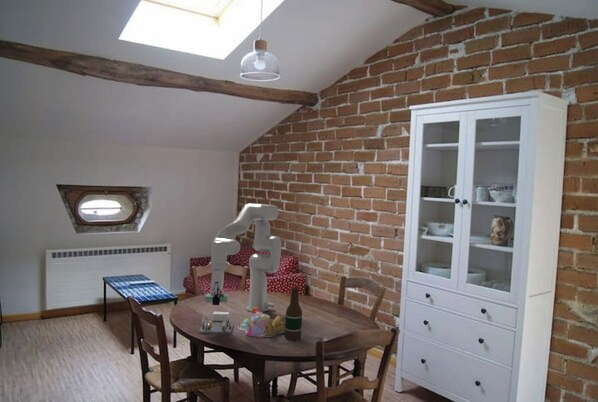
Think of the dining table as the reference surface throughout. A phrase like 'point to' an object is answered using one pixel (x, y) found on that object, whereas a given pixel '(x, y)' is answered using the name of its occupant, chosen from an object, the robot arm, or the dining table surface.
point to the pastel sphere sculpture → (262, 325)
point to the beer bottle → (293, 317)
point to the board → (222, 296)
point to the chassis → (216, 326)
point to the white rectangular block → (220, 316)
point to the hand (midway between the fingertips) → (216, 302)
